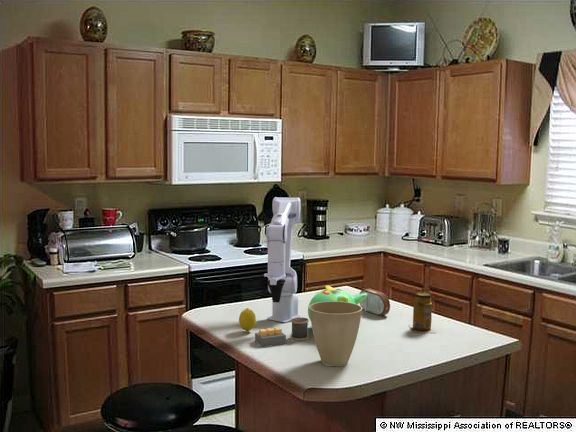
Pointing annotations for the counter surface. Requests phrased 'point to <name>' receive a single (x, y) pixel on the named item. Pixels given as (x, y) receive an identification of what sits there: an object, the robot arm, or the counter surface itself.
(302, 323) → the cord spool
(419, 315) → the condiment
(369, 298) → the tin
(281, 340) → the breaker strip
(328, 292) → the green toy teapot
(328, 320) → the plant pot
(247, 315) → the lemon
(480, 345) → the counter surface
